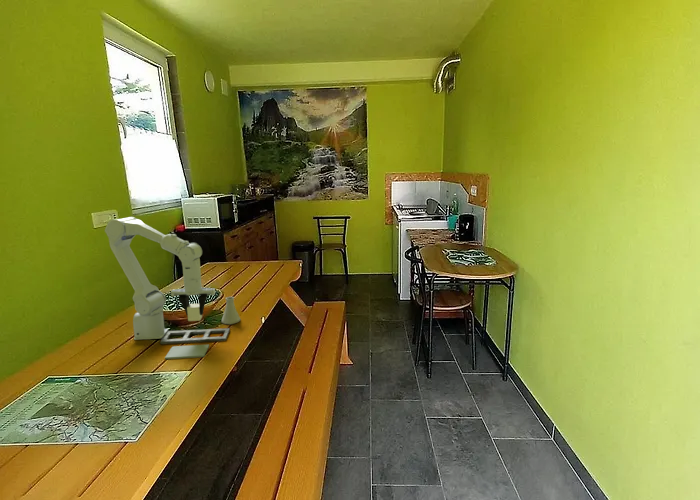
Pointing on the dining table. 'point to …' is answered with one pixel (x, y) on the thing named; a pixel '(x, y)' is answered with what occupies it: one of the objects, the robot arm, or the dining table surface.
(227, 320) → the flask
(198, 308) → the peg
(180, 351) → the pad
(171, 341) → the grey slotted frame
